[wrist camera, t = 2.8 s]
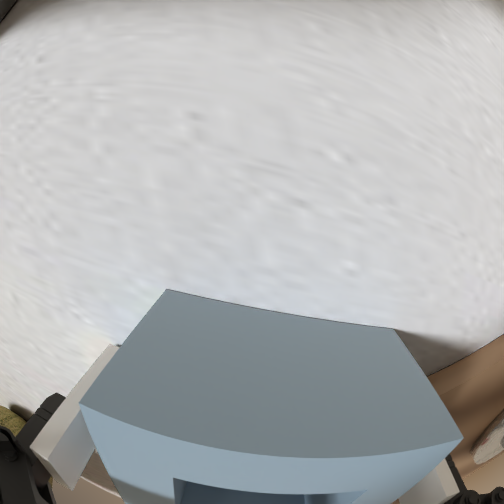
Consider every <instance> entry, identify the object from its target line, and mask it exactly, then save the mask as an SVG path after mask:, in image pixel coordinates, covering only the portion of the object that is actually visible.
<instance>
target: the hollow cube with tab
mask: <svg viewBox="0 0 504 504" xmlns="http://www.w3.org/2000/svg"><path fill="white" fill-rule="evenodd" d="M79 406H80V409H81V411H82V414H83V417H84V420H85V422H86V425H87V428H88V430H89V433H90V435H91V437H92V440H93V442H94V444H95V447H96V449H97V451H98V453H99V456H100V458H101V460H102V462H103V464H104V466H105V468H106V470H107V472H108V474H109V476H110V478H111V480H112V481H113V483H114V485H115V487H116V489H117V490H118V492H119V494H120V496H121V497H122V499H123V501H124V502H125V504H391V503H393V502H394V501H395V500H397V499H398V498H399V497H401V496H402V495H403V494H405V493H406V492H407V491H408V490H410V489H411V488H412V487H413V486H415V485H416V484H417V483H418V482H419V481H421V480H422V479H423V478H424V477H425V476H426V475H427V474H428V473H430V472H431V471H432V470H433V469H434V468H435V467H436V466H437V465H438V464H439V463H440V462H441V461H442V460H443V459H444V458H445V457H446V456H447V455H448V454H449V453H450V452H451V451H452V450H453V449H454V448H455V447H456V446H457V445H458V444H459V443H460V442H461V441H462V439H463V438H464V437H463V435H462V434H461V432H460V430H459V428H458V427H457V425H456V423H455V422H454V420H453V418H452V416H451V415H450V413H449V412H448V410H447V408H446V407H445V405H444V403H443V402H442V400H441V399H440V397H439V395H438V394H437V392H436V391H435V389H434V388H433V386H432V384H431V383H430V381H429V380H428V378H427V377H426V375H425V374H424V372H423V371H422V369H421V368H420V366H419V365H418V363H417V362H416V360H415V359H414V357H413V356H412V355H411V353H410V352H409V350H408V349H407V347H406V346H405V345H404V343H403V342H402V340H401V339H400V337H399V336H398V335H397V333H396V332H395V331H394V329H390V328H381V327H373V326H365V325H357V324H349V323H342V322H335V321H328V320H322V319H315V318H309V317H303V316H297V315H291V314H285V313H279V312H273V311H268V310H262V309H257V308H252V307H247V306H242V305H237V304H232V303H227V302H222V301H217V300H212V299H208V298H203V297H198V296H194V295H190V294H185V293H181V292H176V291H172V290H168V289H166V290H165V292H164V293H163V294H162V295H161V296H160V298H159V299H158V300H157V301H156V303H155V304H154V305H153V306H152V307H151V309H150V310H149V311H148V312H147V314H146V315H145V316H144V317H143V319H142V320H141V321H140V322H139V324H138V325H137V326H136V327H135V329H134V330H133V331H132V332H131V334H130V335H129V336H128V338H127V339H126V340H125V341H124V343H123V344H122V345H121V347H120V348H119V349H118V350H117V352H116V353H115V354H114V356H113V357H112V358H111V360H110V361H109V362H108V363H107V365H106V366H105V367H104V369H103V370H102V371H101V373H100V374H99V375H98V377H97V378H96V380H95V381H94V382H93V384H92V385H91V386H90V388H89V389H88V390H87V392H86V393H85V395H84V396H83V397H82V399H81V400H80V401H79Z"/></svg>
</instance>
